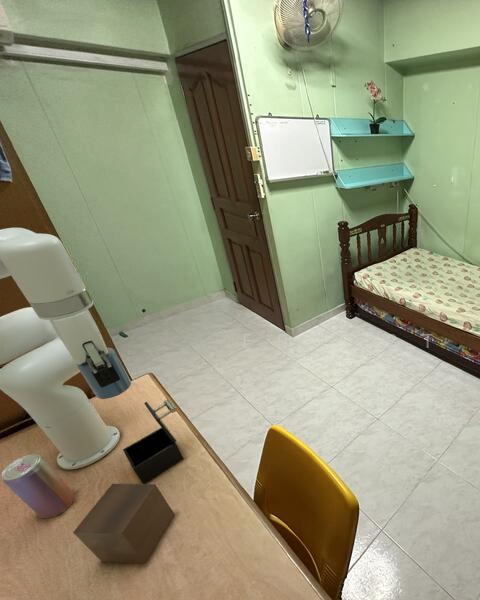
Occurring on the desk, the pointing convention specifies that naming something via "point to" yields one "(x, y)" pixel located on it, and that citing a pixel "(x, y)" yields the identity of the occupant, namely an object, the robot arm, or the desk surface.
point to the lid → (163, 415)
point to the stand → (126, 523)
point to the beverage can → (38, 485)
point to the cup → (113, 388)
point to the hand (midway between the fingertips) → (105, 375)
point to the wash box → (153, 455)
